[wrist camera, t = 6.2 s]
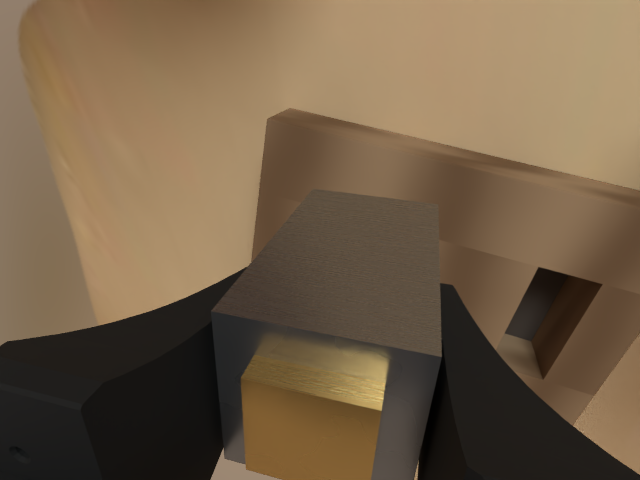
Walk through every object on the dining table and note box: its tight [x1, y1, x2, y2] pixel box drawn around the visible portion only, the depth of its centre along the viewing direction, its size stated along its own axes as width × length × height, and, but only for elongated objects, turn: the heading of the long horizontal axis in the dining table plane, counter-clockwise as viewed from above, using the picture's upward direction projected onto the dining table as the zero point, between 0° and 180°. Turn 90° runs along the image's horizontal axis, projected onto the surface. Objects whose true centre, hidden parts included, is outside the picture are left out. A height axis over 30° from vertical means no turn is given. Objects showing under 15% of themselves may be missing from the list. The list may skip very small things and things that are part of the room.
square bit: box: [211, 189, 442, 480], centre depth 11 cm, size 4×4×8 cm
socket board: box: [251, 108, 640, 426], centre depth 20 cm, size 17×12×3 cm
